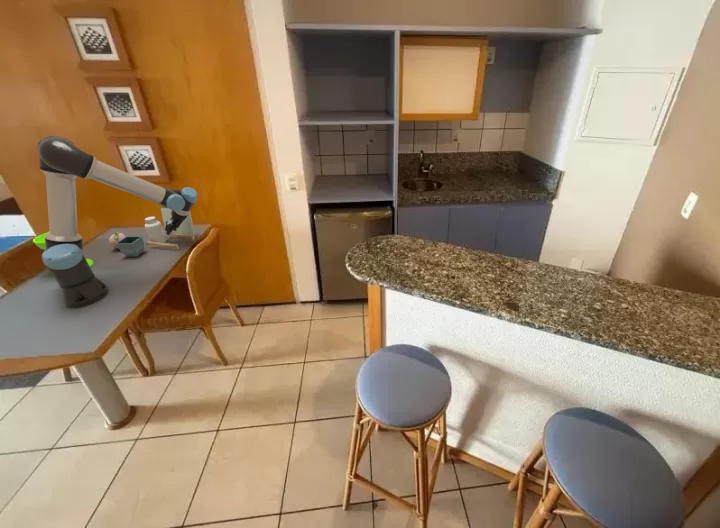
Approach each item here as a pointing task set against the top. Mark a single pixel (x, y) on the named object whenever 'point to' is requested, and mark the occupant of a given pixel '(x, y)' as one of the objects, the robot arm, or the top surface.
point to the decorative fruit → (116, 238)
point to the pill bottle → (155, 230)
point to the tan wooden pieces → (167, 245)
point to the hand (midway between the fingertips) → (167, 236)
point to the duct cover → (185, 226)
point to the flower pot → (131, 246)
